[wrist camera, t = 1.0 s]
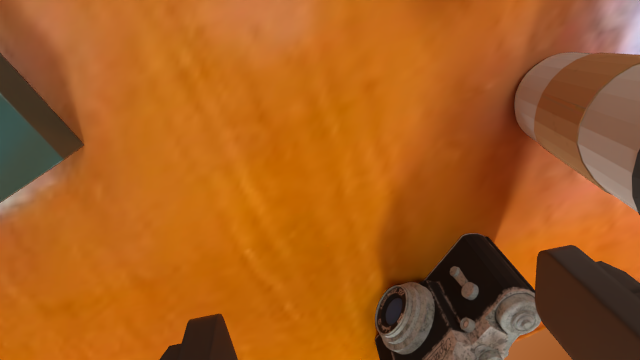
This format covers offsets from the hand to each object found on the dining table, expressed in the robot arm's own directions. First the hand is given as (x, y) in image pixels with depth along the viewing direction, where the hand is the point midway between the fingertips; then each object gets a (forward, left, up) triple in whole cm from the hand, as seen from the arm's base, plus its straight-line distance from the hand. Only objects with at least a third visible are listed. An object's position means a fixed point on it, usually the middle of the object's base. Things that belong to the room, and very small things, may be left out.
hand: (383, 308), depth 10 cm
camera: (+18, -1, -21) cm, 27 cm away
